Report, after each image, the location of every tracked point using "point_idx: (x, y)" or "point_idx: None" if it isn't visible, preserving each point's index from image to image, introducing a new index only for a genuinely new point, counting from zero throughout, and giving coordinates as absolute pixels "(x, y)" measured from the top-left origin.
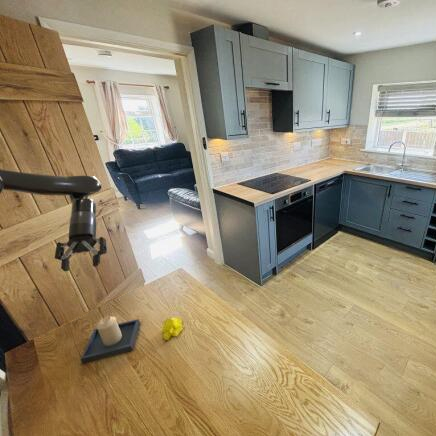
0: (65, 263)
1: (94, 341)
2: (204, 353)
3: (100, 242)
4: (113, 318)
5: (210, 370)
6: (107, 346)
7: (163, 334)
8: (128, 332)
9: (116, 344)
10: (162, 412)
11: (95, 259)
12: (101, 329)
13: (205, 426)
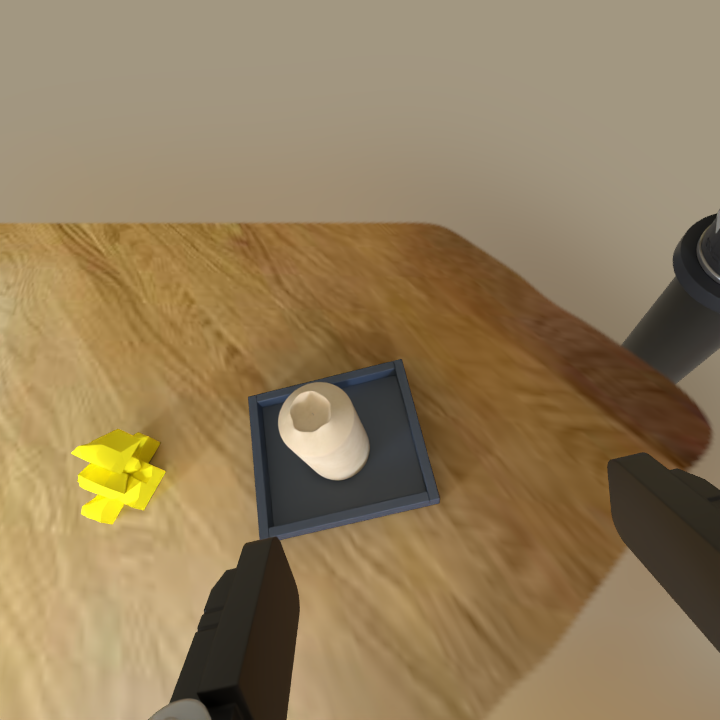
0: (680, 515)
1: (412, 448)
2: (41, 377)
3: None
4: (285, 431)
5: (37, 328)
6: None
7: (144, 438)
8: (293, 481)
9: None
10: (146, 249)
11: (223, 617)
12: (319, 382)
13: (68, 229)
